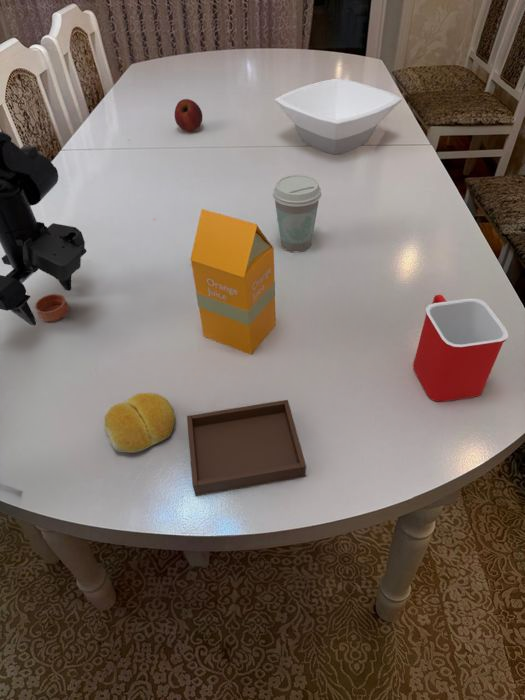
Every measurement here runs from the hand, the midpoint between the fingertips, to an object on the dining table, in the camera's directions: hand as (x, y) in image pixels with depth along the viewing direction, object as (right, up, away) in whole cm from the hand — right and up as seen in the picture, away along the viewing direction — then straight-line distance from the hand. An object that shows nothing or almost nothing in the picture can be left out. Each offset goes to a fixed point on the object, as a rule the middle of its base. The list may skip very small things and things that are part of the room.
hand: (51, 306), depth 81 cm
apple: (+15, +53, +54) cm, 77 cm away
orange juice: (+31, -4, -4) cm, 32 cm away
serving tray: (+32, -20, -19) cm, 43 cm away
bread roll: (+19, -18, -16) cm, 30 cm away
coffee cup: (+41, +13, +13) cm, 45 cm away
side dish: (0, -1, +1) cm, 2 cm away
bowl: (+53, +47, +46) cm, 84 cm away
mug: (+60, -10, -11) cm, 62 cm away
